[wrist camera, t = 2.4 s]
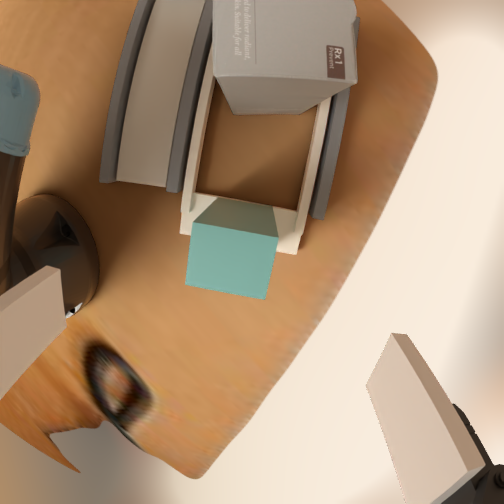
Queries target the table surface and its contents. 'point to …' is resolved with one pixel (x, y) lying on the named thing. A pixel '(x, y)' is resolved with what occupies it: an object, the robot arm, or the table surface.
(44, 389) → the table surface
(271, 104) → the skincare box
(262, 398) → the table surface
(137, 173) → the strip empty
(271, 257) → the white and teal frame
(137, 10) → the lane bed
